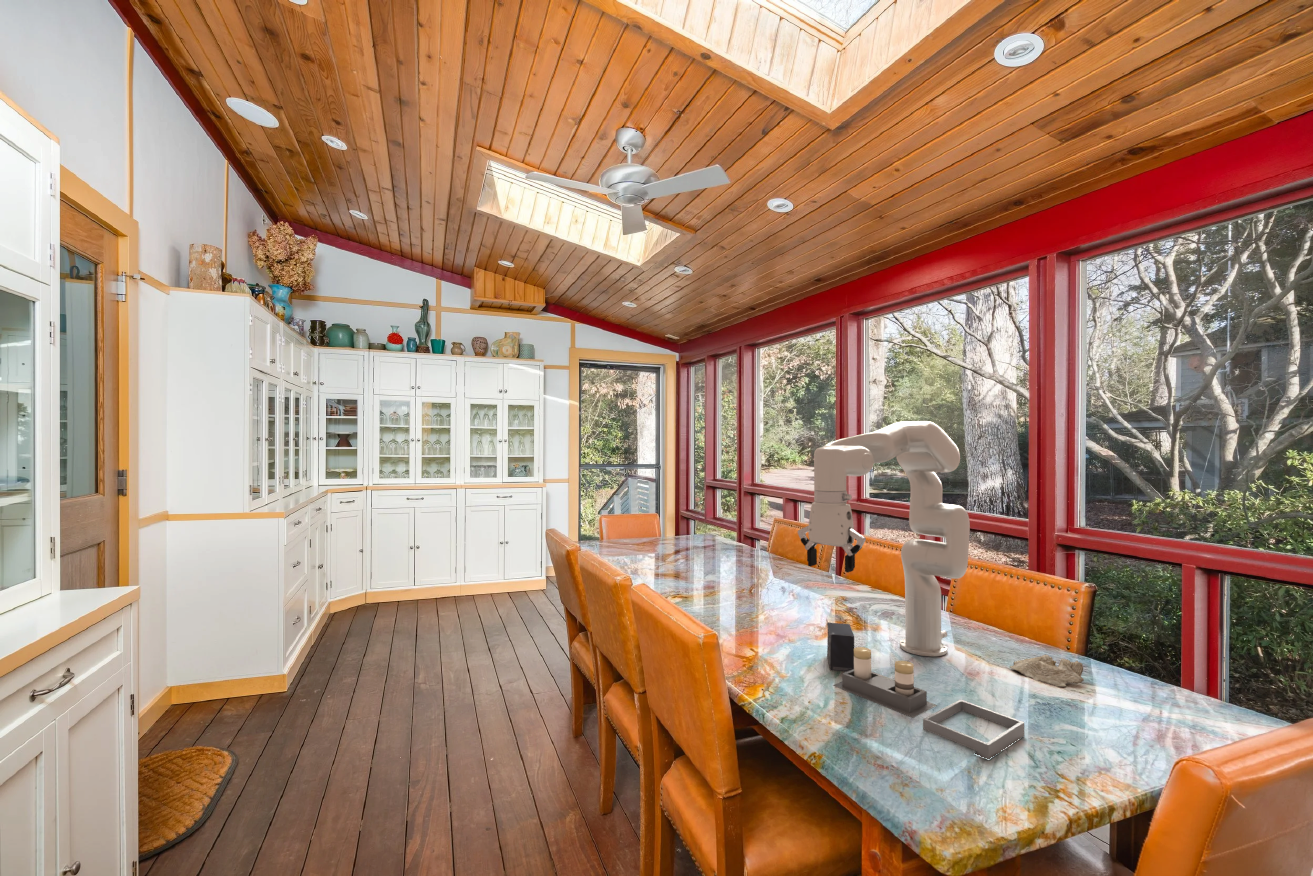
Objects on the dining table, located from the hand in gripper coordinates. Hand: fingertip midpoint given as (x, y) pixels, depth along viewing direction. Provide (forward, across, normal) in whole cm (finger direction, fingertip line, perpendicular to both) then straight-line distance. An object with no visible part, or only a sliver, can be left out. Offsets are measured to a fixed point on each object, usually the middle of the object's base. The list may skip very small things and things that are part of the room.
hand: (830, 568), depth 145 cm
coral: (+30, -35, -48) cm, 67 cm away
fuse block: (+30, -11, -5) cm, 32 cm away
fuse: (+29, -6, -6) cm, 30 cm away
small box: (+30, +5, -16) cm, 35 cm away
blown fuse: (+29, -16, -4) cm, 33 cm away
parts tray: (+30, -32, -1) cm, 44 cm away
